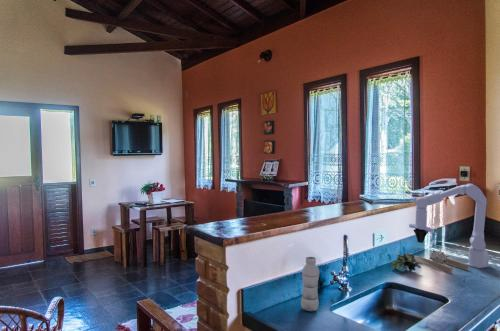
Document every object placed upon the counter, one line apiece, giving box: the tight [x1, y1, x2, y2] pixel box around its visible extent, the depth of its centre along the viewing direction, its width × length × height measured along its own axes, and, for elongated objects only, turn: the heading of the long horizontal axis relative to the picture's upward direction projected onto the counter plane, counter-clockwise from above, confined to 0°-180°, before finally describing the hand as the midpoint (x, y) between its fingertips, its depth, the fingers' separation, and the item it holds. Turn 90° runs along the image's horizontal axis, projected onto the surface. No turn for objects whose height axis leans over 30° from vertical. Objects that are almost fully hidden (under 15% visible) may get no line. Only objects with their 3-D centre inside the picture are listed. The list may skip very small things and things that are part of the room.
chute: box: [413, 252, 469, 274], centre depth 197 cm, size 14×22×3 cm, turn 25°
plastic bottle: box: [300, 256, 320, 312], centre depth 139 cm, size 6×7×20 cm
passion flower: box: [390, 253, 422, 274], centre depth 186 cm, size 11×11×12 cm
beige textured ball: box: [428, 249, 450, 265], centre depth 197 cm, size 9×8×10 cm
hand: (420, 242), depth 208 cm, fingers closed
